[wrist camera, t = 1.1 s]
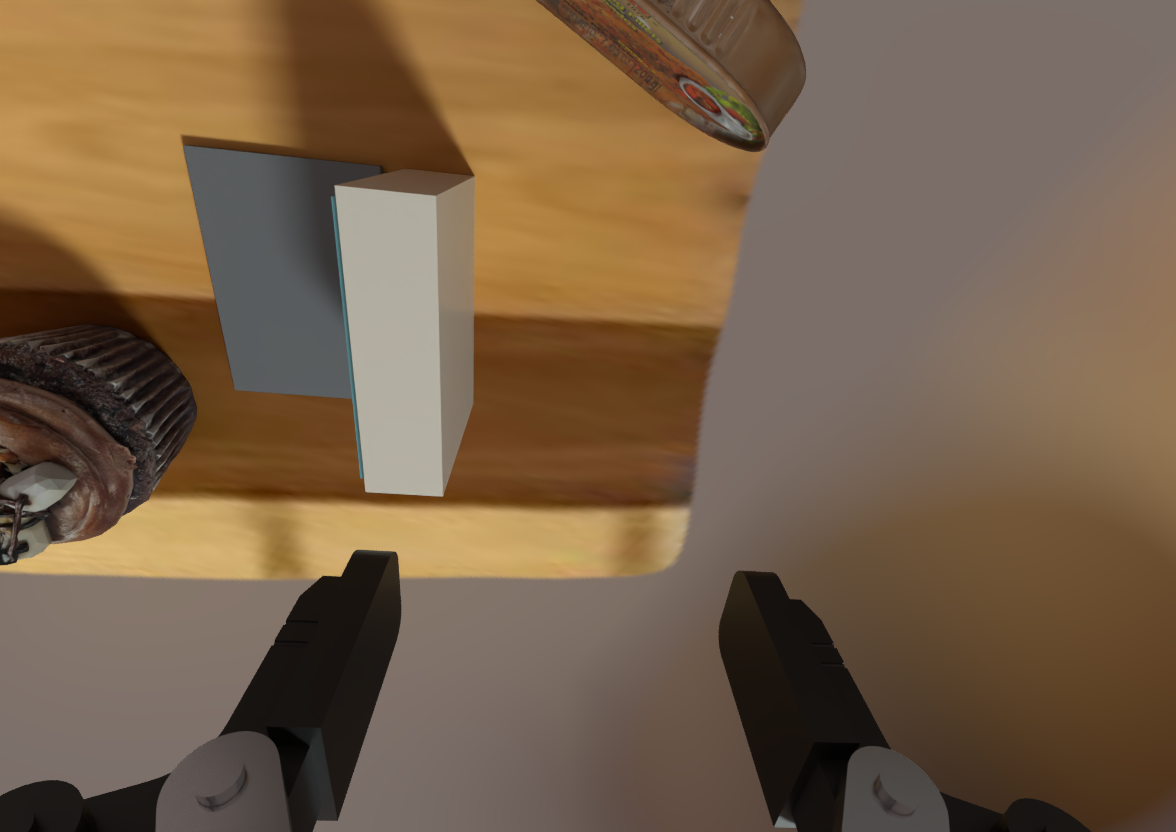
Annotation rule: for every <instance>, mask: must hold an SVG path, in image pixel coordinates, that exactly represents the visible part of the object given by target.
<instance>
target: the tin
mask: <svg viewBox="0 0 1176 832" xmlns="http://www.w3.org/2000/svg"><path fill="white" fill-rule="evenodd" d="M536 1H538V2H539V3H540V4H541V5H543V6H544V7H545V8H546V9H547V10H549V11H550V12H551V13H552V14H553V15H555V16H556V17H557V18H558V19H560V20H561V21H562V22H563V23H565V24H566V25H567V26H568V27H569V28H570V29H572V30H573V31H574V32H575V33H577V34H578V35H579V36H580V37H581V38H583V39H584V40H585V41H586V42H587V43H589V44H590V45H591V46H592V47H594V48H595V49H596V50H597V51H598V52H600V53H601V54H602V55H603V56H604V57H606V58H607V59H608V60H609V61H611V62H612V63H613V64H614V65H615V66H616V67H618V68H619V69H620V70H621V71H622V72H624V73H625V74H626V75H627V76H628V77H630V78H631V79H632V80H633V81H635V82H636V83H637V84H638V85H639V86H641V87H642V88H643V89H644V90H646V91H647V92H648V93H649V94H650V95H652V96H653V97H654V98H655V99H656V100H658V101H659V102H660V103H661V104H663V105H664V106H665V107H666V108H668V109H669V110H671V111H672V112H673V113H675V114H676V115H678V116H679V117H681V118H682V119H683V120H685V121H686V122H688V123H689V124H691V125H692V126H694V127H695V128H697V129H699V130H700V131H702V132H703V133H705V134H707V135H709V136H710V137H713V138H715V139H717V140H718V141H720V142H723V143H725V144H727V145H730V146H732V147H735V148H738V149H742V150H745V151H750V152H760V151H762V150H764V149H765V148H766V147H767V145H768V143H769V139H770V137H771V135H772V134H773V132H774V131H775V130H776V128H777V127H778V125H779V124H780V123H781V121H782V120H783V118H784V117H785V116H786V114H787V113H788V111H789V110H790V109H791V107H792V106H793V104H794V103H795V101H796V99H797V98H798V96H799V95H800V93H801V91H802V89H803V86H804V83H805V79H806V66H805V61H804V57H803V54H802V51H801V48H800V45H799V43H798V41H797V39H796V37H795V35H794V33H793V32H792V30H791V29H790V27H789V26H788V24H787V23H786V21H785V20H784V18H783V17H782V15H781V14H780V13H779V12H778V10H777V9H776V8H775V7H774V5H773V4H772V3H771V2H770V0H536Z"/></svg>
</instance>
